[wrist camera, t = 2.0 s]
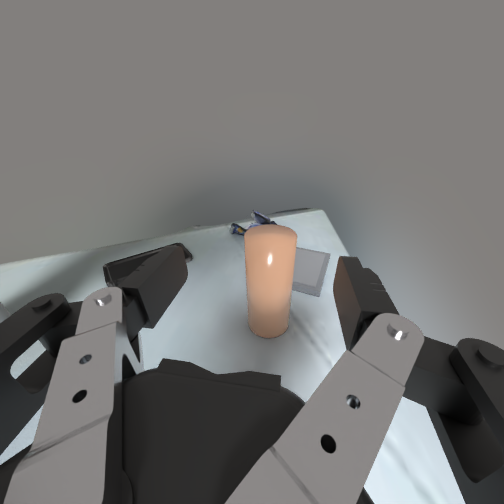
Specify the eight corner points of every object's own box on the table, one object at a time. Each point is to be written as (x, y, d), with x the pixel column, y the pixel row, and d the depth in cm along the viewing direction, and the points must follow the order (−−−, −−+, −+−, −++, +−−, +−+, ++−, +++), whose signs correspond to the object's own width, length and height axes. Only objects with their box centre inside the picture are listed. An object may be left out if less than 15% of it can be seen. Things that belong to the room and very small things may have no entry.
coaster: (248, 277, 38) (248, 272, 37) (272, 246, 47) (272, 241, 46) (319, 296, 33) (320, 291, 33) (329, 258, 42) (330, 253, 42)
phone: (102, 264, 41) (180, 241, 48) (104, 269, 41) (181, 246, 49) (106, 286, 35) (193, 256, 42) (109, 291, 36) (194, 261, 43)
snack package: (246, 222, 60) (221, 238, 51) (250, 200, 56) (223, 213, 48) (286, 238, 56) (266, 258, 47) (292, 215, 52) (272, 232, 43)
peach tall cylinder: (241, 329, 28) (234, 241, 22) (257, 301, 32) (256, 221, 26) (281, 344, 26) (288, 252, 20) (293, 312, 30) (302, 228, 24)
